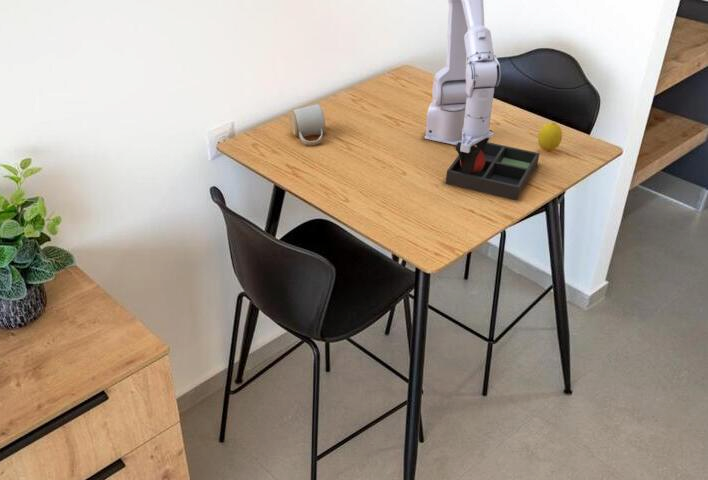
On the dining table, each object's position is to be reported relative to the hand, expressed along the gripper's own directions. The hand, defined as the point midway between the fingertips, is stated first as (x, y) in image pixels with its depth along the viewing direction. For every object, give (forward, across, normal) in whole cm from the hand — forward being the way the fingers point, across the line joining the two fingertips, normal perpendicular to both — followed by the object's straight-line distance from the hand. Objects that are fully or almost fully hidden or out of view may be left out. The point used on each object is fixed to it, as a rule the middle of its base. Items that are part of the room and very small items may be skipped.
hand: (471, 165), depth 180 cm
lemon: (+4, +20, -13) cm, 25 cm away
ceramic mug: (+4, +2, +44) cm, 45 cm away
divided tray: (+4, +4, -4) cm, 7 cm away
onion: (+3, 0, 0) cm, 3 cm away
